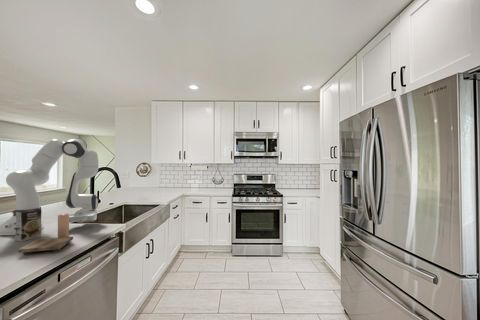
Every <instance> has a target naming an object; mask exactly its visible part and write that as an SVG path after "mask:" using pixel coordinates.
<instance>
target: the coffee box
mask: <svg viewBox="0 0 480 320" xmlns="http://www.w3.org/2000/svg"><path fill="white" fill-rule="evenodd" d="M41 221H42V208H41V209H32V210H25V211H19V212H16V235H14V236H15V238H14V239H15V241H16V242H17V241H18V242H25V241H30V240H33V239H36V238H41V237H42V229H41Z"/></svg>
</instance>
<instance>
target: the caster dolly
mask: <svg viewBox="0 0 480 320" xmlns="http://www.w3.org/2000/svg"><path fill="white" fill-rule="evenodd" d="M72 240H74V236H69V237H59V238H58V237H51V238H50V237H48V238H38V239H36V240H33V241H32V242H30V243H28V244H26V245H24V246H23V247H19V249H17V250H18V251H17V252H18V254H20V253H22V255H23V256H29V255H30V253H31V252H42V251H53V253H59V252H60V249H62V248H63V247H64V246H66V245H70V242H71V241H72Z"/></svg>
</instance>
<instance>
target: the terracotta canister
mask: <svg viewBox="0 0 480 320" xmlns="http://www.w3.org/2000/svg"><path fill="white" fill-rule="evenodd" d="M69 215H70V213H61V214H58V215H57V238H59V237H70V222H69Z"/></svg>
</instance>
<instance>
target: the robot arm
mask: <svg viewBox="0 0 480 320" xmlns="http://www.w3.org/2000/svg"><path fill="white" fill-rule="evenodd" d="M63 155H66V156H68V157H73V158H75V159H78V160H79V167H78V170H77V171H75V172H74V173H73V175H72V176H71V177H72V178H71V181H70V185H69V190H68V194H67V196H66V200H65V205H66V206H67V207H68V208H70V209H78V208H79V210H77V211H75V212H74V213H72V214H71V213H70V214H69V223H79V224H82V223H87V222H93V221H96V220H97V217H98V213H97V212H98V211H97V210H98V206H99V198H98V196H97V195H96V194H93V193H78V192H79V191H78V190H79V186H80V182H81V181H83V180H88V179H90V178H93V177H95V176H96V175H97V174H98V172H99V156H98V152H97V151H95V150H94V149H88V145H87V143H86V141H85V140H84V139H83V138H82V139H81V138H70V139H68V140H66V141H63V140H61V139H56V138H53V139H50V140H49V141H47V142H46V143H45V144H44V145H43V146H42V147H41V148H40V149H39V150H38V151H37V152H36V154H35V155H34V156H33V157H32V159H31V163H32V164H31V166H30V168H28V169H23V170H16V171H13V172H10V173H8V174H7V176H6V177H5V183H6V184H7V186H8V187H10V188H11V189H12V190H13V191H14V194H15V200H16V209H14V210H12V211H11V214H12V216H10V217H8V218H7V219H6V220H4V221H3V222H1V223H0V236H15V235H16V212H19V211H25V210H32V209H41V210H42V207H41V194H39V193H38V192H37V190H36V187H37V186H41V185H44V184H46V183H47V182H48V181H49V178H50V171H51V170H52V168H53V167H54V165H55V164H56V163H57V162H58V160H59V159H60V158H61V157H62V156H63ZM80 208H81V209H80ZM43 229H44V225H43V222H42V220H41V230H43Z"/></svg>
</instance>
